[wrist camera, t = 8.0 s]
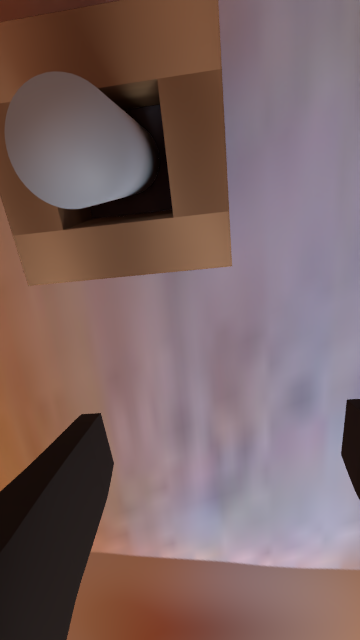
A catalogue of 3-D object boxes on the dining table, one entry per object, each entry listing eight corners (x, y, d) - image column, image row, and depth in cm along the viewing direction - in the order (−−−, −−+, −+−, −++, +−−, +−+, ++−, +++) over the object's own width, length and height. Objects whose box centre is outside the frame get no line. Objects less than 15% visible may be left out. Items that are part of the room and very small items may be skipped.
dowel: (158, 120, 15) (118, 68, 8) (161, 194, 16) (130, 208, 9) (90, 123, 15) (-9, 74, 8) (98, 195, 17) (19, 210, 9)
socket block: (212, 34, 14) (217, -17, 10) (225, 247, 17) (231, 266, 14) (11, 67, 15) (-51, 31, 11) (63, 264, 18) (28, 285, 15)
